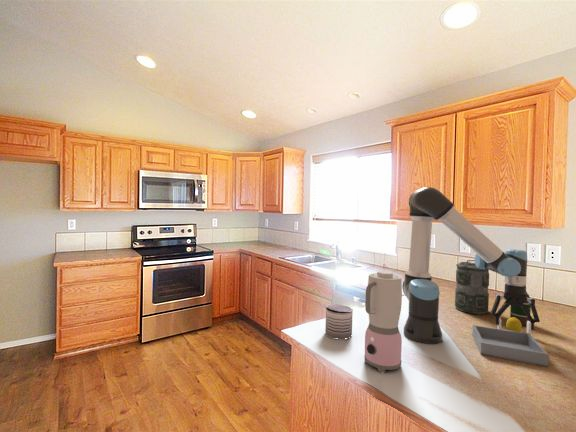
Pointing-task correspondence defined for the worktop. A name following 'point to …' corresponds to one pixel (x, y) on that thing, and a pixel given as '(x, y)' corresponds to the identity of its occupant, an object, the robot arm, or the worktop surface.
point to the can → (338, 321)
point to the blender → (383, 321)
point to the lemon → (514, 324)
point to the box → (509, 345)
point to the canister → (471, 288)
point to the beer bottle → (520, 312)
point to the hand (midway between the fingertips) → (513, 334)
